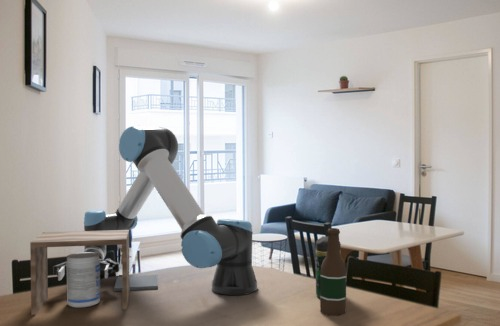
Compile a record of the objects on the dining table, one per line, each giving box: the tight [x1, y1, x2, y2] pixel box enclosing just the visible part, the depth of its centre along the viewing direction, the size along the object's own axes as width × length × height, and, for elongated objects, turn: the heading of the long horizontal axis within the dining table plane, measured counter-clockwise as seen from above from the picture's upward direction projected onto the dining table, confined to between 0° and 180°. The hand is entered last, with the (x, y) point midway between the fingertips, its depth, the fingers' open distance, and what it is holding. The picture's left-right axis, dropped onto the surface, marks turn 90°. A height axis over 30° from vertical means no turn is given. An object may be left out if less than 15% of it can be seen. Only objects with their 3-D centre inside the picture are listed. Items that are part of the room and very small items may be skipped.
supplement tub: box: [65, 251, 101, 309], centre depth 147 cm, size 10×10×15 cm
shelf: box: [29, 230, 130, 316], centre depth 147 cm, size 16×26×20 cm, turn 101°
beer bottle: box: [319, 227, 347, 317], centre depth 140 cm, size 8×8×24 cm
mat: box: [113, 274, 159, 292], centre depth 168 cm, size 14×14×1 cm
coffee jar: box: [315, 236, 342, 298], centre depth 155 cm, size 10×8×19 cm
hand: (82, 275), depth 149 cm, fingers open, 13 cm apart
